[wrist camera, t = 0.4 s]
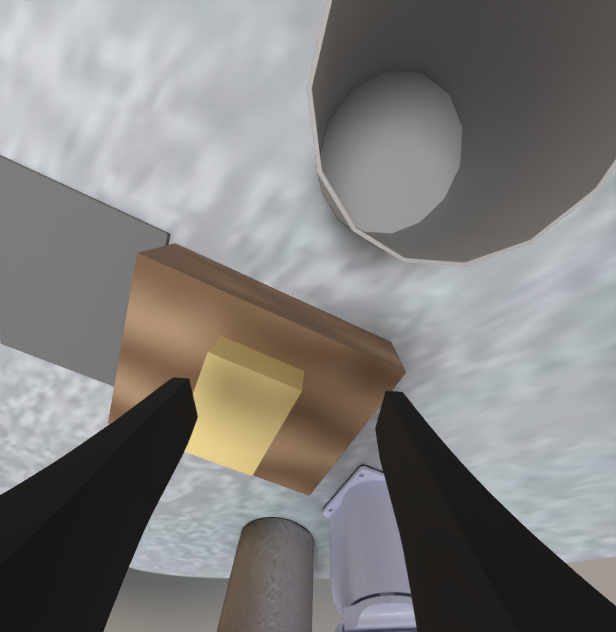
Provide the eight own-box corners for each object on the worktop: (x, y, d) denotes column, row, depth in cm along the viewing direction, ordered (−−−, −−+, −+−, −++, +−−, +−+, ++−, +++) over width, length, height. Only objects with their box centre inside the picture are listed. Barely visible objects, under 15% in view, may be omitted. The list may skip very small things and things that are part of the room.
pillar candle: (244, 554, 35) (194, 780, 21) (237, 513, 31) (171, 758, 17) (313, 560, 35) (308, 792, 21) (316, 519, 31) (312, 773, 17)
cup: (490, 131, 14) (783, -4, 5) (400, 256, 17) (483, 311, 8) (367, 37, 13) (466, -355, 4) (294, 191, 16) (254, 170, 7)
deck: (311, 454, 26) (309, 495, 22) (141, 389, 24) (107, 423, 20) (391, 342, 20) (405, 372, 16) (175, 243, 18) (136, 252, 14)
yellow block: (258, 451, 20) (252, 476, 19) (188, 425, 20) (174, 448, 18) (304, 371, 17) (302, 390, 15) (220, 335, 16) (207, 351, 14)
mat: (135, 391, 24) (133, 393, 24) (4, 341, 23) (0, 343, 22) (170, 233, 18) (167, 234, 17) (-8, 151, 16) (-14, 150, 16)
